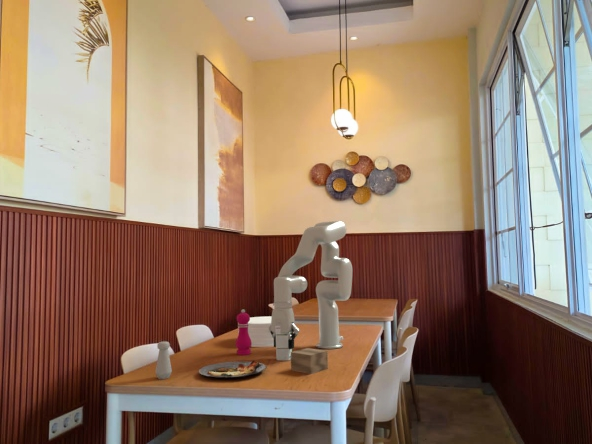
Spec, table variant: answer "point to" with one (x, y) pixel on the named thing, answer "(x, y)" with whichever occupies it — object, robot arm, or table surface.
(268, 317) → the plate stack
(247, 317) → the pepper mill
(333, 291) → the robot arm
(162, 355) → the salt shaker
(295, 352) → the walnut block
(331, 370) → the table surface
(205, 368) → the food plate
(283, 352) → the syrup box
